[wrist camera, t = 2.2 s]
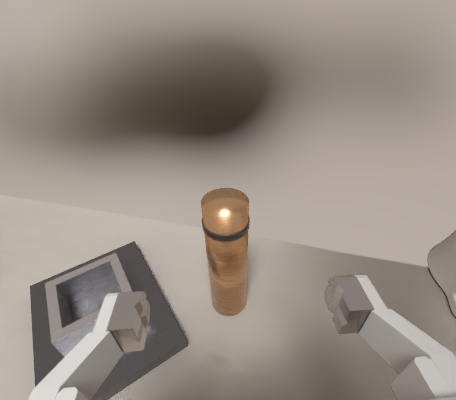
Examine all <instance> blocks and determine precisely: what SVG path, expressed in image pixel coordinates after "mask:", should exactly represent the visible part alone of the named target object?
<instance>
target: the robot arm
mask: <svg viewBox="0 0 456 400" xmlns="http://www.w3.org/2000/svg"><path fill="white" fill-rule="evenodd" d="M428 266H429V269H430V271H431V273H432V275H433V277H434V279H435V280H436V282H437V283H438V284H439V285H440V287H441V288H442V289H443V291H444V292H445V294H446V295H447V298H448V301H449V305H450V308H451V310H452V312H453V314H454V315H455V317H456V231H455V232H453V233H452V234H451V235H450V236H449V237H448V238H446V239H445V240H444V241H442V242H441V243H439V244H438V245H436V246H435V247H433V248H432V249H431V250H430V252H429V254H428ZM328 283H329V286H328V287H327V288H326V290H325V300H326V304H327V307H328V309H329V310H330V311H331V312H333V313H334V315H333V321H334V324H335V326H336V328H337V331H338V333H339V334H348V333H358V334H359V335H360V336H361V337H362V338H363V339H364V340H365V341H366V342H367V343H368V344H369V345H370V346H371V347H372V348H373V349H374V350H375V351H376V352H377V353H378V354H379V355H380V356H381V357H382V358H383V359H384V360H385V361H386V362H387V363H388V364H389V365H390V366H391V367H392V368H393V369H394V370H395V371H396V372H397V373H398V374H399V375H398V376H397V377H396V378H395V379H394V380H393V381H392V383H391V385H390V386H391V388H392V390H393V392H394V394H395V396H396V398H397V400H456V357H455V355H454V354H453V353H452V352H451V351H449V350H448V349H447V348H445V347H444V346H442V345H441V344H440V343H438V342H437V341H435V340H434V339H433V338H431V337H430V336H429V335H427V334H426V333H424V332H423V331H422V330H420V329H419V328H417V327H416V326H415V325H413V324H412V323H410V322H409V321H408V320H406V319H405V318H403V317H402V316H401V315H399V314H398V313H397V312H395V311H394V310H392V309H388V308H387V307H386V305H385V304H384V302H383V300H382V299H381V297H380V295H379V294H378V292H377V291H376V289H375V287H374V286H373V284H372V283H371V281H370V279H369V278H368V276H366V275H364V274H362V275H347V276H336V277H331V278H329V281H328ZM145 299H146V294H145V291H136V292H118V293H108V294H107V295H106V296H105V298H104V301H103V303H102V306H101V309H100V312H99V315H98V317H97V320H96V323H95V326H94V328H93V331H92V332H90V333H88V334H87V335H86V336H85V337H84V338H83V339H82V340H81V341H80V342H79V343H78V344H77V345H76V346H75V347H74V348H73V349H72V350H71V351H70V352H69V353H68V354H67V355H66V356H65V357H64V358H63V359H62V360H61V361H60V362H59V363H58V364H57V365H56V366H55V367H54V368H53V370H52V371H51V372H50V373H49V374H48V375H47V376H46V377H45V378H44V379H43V380H42V381H41V382H40V383H39V384H38V385H37V386H36V387H35V388H34V389H33V391H32V393H31V395H30V397H29V399H28V400H91V399H92V397H93V396H94V394H95V393H96V392H97V390H98V389H99V387H100V386H101V385H102V383H103V382H104V380H105V379H106V378H107V376H108V375H109V373H110V372H111V370H112V369H113V368H114V366H115V365H116V363H117V362H118V361H119V359H120V358H121V356H122V355H123V352H132V351H141V350H144V347H145V341H146V336H147V333H146V330H145V327H146V326H147V325H148V324H149V320H150V304H149V301H147V300H145Z"/></svg>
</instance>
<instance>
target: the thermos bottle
mask: <svg viewBox="0 0 456 400" xmlns="http://www.w3.org/2000/svg"><path fill="white" fill-rule="evenodd" d="M201 207H202V226H203V231H204V234H205V243H206V251H207V260H208V269H209V278H210V286H211V295H212V303H213V307H214V308H215V310H216V311H217V312H218V313H220V314H222V315H225V316H233V315H236V314H238V313H240V312H241V311H242V310H243V309H244V307H245V305H246V287H247V252H248V229H249V200H248V197H247V196H246V195H245V194H244V193H243V192H241V191H239V190H236V189H232V188H220V189H216V190H213V191H210V192H209V193H207V194H206V195H205V196H204V197H203V198H202V201H201Z"/></svg>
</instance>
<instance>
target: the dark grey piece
mask: <svg viewBox="0 0 456 400" xmlns="http://www.w3.org/2000/svg"><path fill="white" fill-rule="evenodd" d="M136 291H145V294H146V299H145V300H147V301H149V304H150V320H149V324H148V325H147V326H146V327H145V330H146V333H147V336H146V341H145V347H144V350H141V351H132V352H123V355H122V356H121V358H120V359H119V361H118V362H117V363H116V365H115V366H114V368H113V369H112V370H111V372H110V373H109V375H108V376H107V378H106V379H105V380H104V382H103V383H102V385H101V386H100V387H99V389H98V390H97V392H96V393H95V394H94V396H93V397H92V399H91V400H108V399H109V398H111V397H112V396H114V395H115V394H117V393H118V392H120V391H121V390H123V389H124V388H126V387H127V386H129V385H130V384H131V383H133V382H134V381H136V380H137V379H139V378H140V377H142V376H143V375H145V374H146V373H148V372H149V371H151V370H152V369H154V368H155V367H157V366H158V365H160V364H161V363H163V362H164V361H166V360H167V359H169V358H170V357H172V356H173V355H175V354H176V353H178V352H179V351H180V350H182V349H183V348H185V347H186V346H188V344H187V341H186V338H185V336H184V334H183V332H182V331H181V329H180V327H179V325H178V323H177V321H176V319H175V317H174V315H173V313H172V312H171V310H170V308H169V306H168V304H167V302H166V300H165V298H164V296H163V295H162V293H161V291H160V289H159V287H158V285H157V283H156V281H155V279H154V277H153V276H152V274H151V272H150V270H149V268H148V266H147V264H146V262H145V260H144V259H143V257H142V255H141V253H140V251H139V249H138V247H137V245H136V243H135V241H134V242H132V243H129V244H127V245H125V246H122V247H120V248H118V249H115V250H113V251H111V252H108V253H106V254H104V255H101V256H99V257H97V258H94V259H92V260H90V261H87V262H85V263H83V264H80V265H78V266H76V267H73V268H71V269H69V270H67V271H64V272H62V273H60V274H57V275H55V276H53V277H50V278H48V279H46V280H43V281H41V282H39V283H36V284H34V285H32V286H30V294H31V314H32V333H33V352H34V371H35V387H36V386H37V385H38V384H39V383H40V382H41V381H42V380H43V379H44V378H45V377H46V376H47V375H48V374H49V373H50V372H51V371H52V370H53V368H54V367H55V366H56V365H57V364H58V363H59V362H60V361H61V360H62V359H63V358H64V357H65V356H66V355H67V354H68V353H69V352H70V351H71V350H72V349H73V348H74V347H75V346H76V345H77V344H78V343H79V342H80V341H81V340H82V339H83V338H84V337H85V336H86V335H87V334H88V333H90V332H92V331H93V328H94V326H95V323H96V320H97V317H98V315H99V312H100V309H101V306H102V303H103V301H104V298H105V296H106V295H107V294H108V293H118V292H136Z"/></svg>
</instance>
